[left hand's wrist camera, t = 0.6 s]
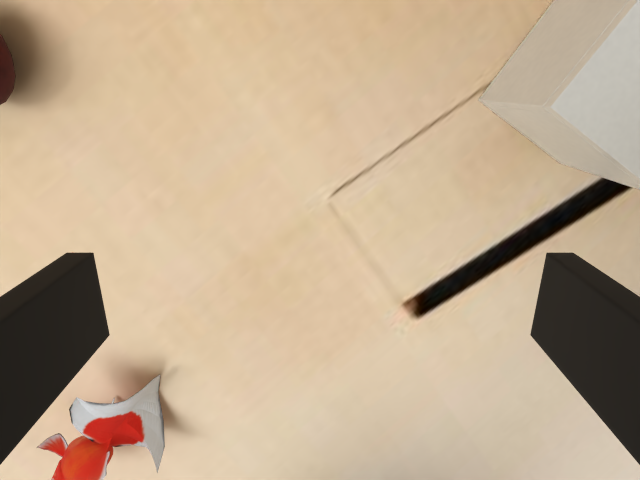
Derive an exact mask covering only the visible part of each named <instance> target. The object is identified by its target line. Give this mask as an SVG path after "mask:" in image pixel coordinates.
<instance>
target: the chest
mask: <svg viewBox="0 0 640 480" xmlns="http://www.w3.org/2000/svg"><path fill="white" fill-rule="evenodd" d="M628 2H629V0H554V1H553V2H552V3H551V5H550V6H549V7H548V8H547V10H546V11H545V12H544V14H543V15H542V16H541V18H540V19H539V20H538V22H537V23H536V24H535V26H534V27H533V28H532V30H531V31H530V32H529V34H528V35H527V36H526V37H525V39H524V40H523V41H522V43H521V44H520V45H519V47H518V48H517V49H516V51H515V52H514V53H513V55H512V56H511V57H510V59H509V60H508V61H507V62H506V64H505V65H504V66H503V68H502V69H501V70H500V72H499V73H498V74H497V76H496V77H495V78H494V80H493V81H492V82H491V84H490V85H489V86H488V87H487V89H486V90H485V91H484V93H483V94H482V95H481V97H480V98H479V99H478V101H480V102H481V103H482V104H484V105H485V106H486V107H487V108H489V109H490V110H491V111H493V112H494V113H495V114H496V115H498V116H499V117H500V118H502V119H503V120H504V121H506V122H507V123H508V124H509V125H511V126H512V127H513V128H515V129H516V130H517V131H518V132H520V133H521V134H522V135H524V136H525V137H526V138H527V139H529V140H530V141H531V142H533V143H534V144H535V145H537V146H538V147H539V148H540V149H542V150H543V151H544V152H546V153H547V154H548V155H549V156H551V157H552V158H553V159H555V160H556V161H557V162H559V163H560V164H563V165H566V166H569V167H572V168H575V169H578V170H581V171H584V172H587V173H591V174H594V175H597V176H600V177H603V178H606V179H609V180H612V181H615V182H618V183H621V184H624V185H627V186H630V187H633V188H636V189H639V190H640V184H639V183H638V182H637V181H636V180H634V179H633V178H632V177H631V176H629V175H628V174H627V173H626V172H624V171H623V170H622V169H621V168H619V167H618V166H617V165H616V164H614V163H613V162H612V161H611V160H609V159H608V158H607V157H606V156H604V155H603V154H602V153H601V152H599V151H598V150H597V149H596V148H594V147H593V146H592V145H591V144H589V143H588V142H587V141H586V140H584V139H583V138H582V137H581V136H579V135H578V134H577V133H576V132H574V131H573V130H572V129H571V128H569V127H568V126H567V125H566V124H564V123H563V122H562V121H561V120H559V119H558V118H557V117H556V116H554V115H553V114H552V113H551V112H549V111H548V110H547V109H546V108H544V105H545V104H546V102H547V101H548V100H549V99H550V97H551V96H552V95H553V94H554V93H555V91H556V90H557V89H558V88H559V86H560V85H561V84H562V83H563V81H564V80H565V79H566V78H567V77H568V75H569V74H570V73H571V72H572V70H573V69H574V68H575V67H576V65H577V64H578V63H579V62H580V61H581V59H582V58H583V57H584V56H585V54H586V53H587V52H588V51H589V50H590V48H591V47H592V46H593V45H594V43H595V42H596V41H597V40H598V38H599V37H600V36H601V35H602V34H603V32H604V31H605V30H606V29H607V27H608V26H609V25H610V24H611V22H612V21H613V20H614V19H615V18H616V16H617V15H618V14H619V13H620V11H621V10H622V9H623V8H624V7H625V5H626V4H627V3H628Z"/></svg>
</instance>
